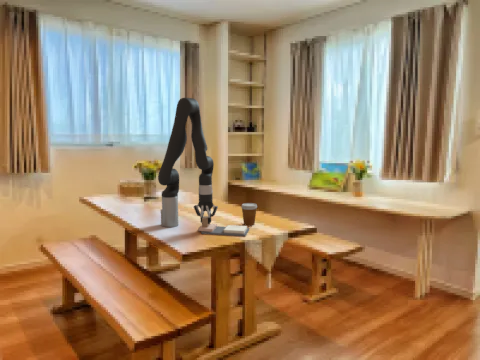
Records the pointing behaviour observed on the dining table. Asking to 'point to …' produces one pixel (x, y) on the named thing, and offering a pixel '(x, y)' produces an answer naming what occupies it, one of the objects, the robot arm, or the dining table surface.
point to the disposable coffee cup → (249, 213)
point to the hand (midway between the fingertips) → (206, 223)
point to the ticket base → (219, 232)
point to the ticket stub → (206, 225)
